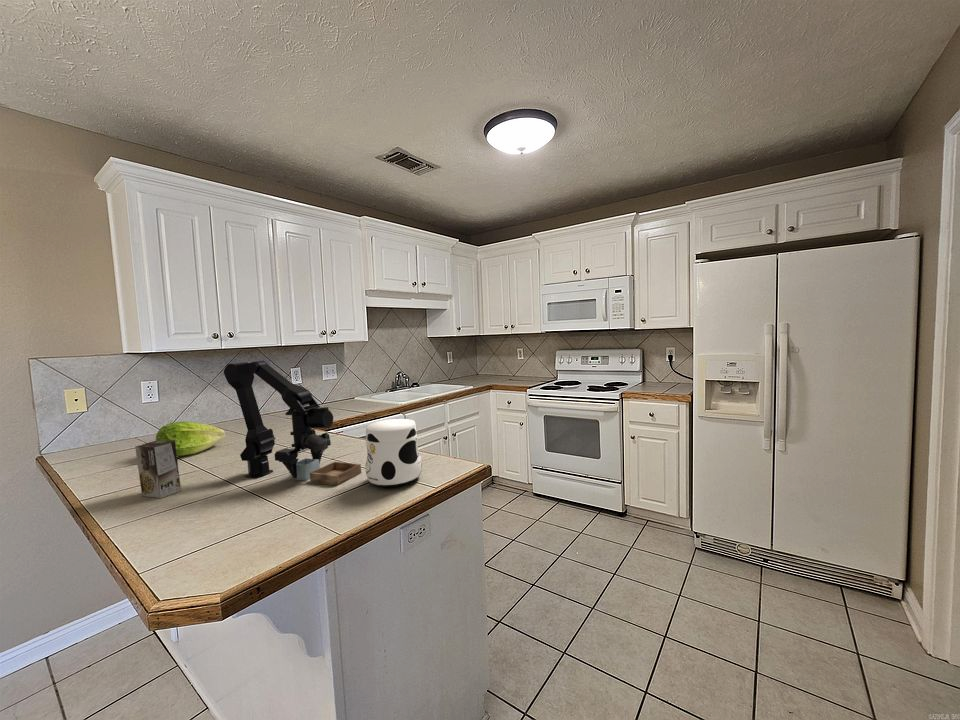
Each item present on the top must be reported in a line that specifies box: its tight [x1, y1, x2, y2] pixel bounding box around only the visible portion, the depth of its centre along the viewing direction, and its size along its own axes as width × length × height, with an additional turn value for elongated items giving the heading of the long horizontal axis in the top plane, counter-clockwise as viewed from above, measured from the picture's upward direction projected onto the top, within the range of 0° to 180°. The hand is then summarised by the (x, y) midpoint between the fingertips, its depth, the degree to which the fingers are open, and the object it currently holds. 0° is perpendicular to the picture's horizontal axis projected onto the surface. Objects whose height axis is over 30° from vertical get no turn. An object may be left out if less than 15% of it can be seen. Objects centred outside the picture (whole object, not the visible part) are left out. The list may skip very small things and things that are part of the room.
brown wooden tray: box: [309, 461, 362, 487], centre depth 131 cm, size 11×11×3 cm
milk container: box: [364, 418, 423, 488], centre depth 125 cm, size 17×17×18 cm
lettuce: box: [155, 421, 226, 458], centre depth 171 cm, size 17×24×14 cm
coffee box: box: [134, 440, 182, 499], centre depth 125 cm, size 9×6×16 cm
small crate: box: [292, 457, 321, 481], centre depth 134 cm, size 6×6×5 cm
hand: (306, 473), depth 134 cm, fingers open, 9 cm apart
